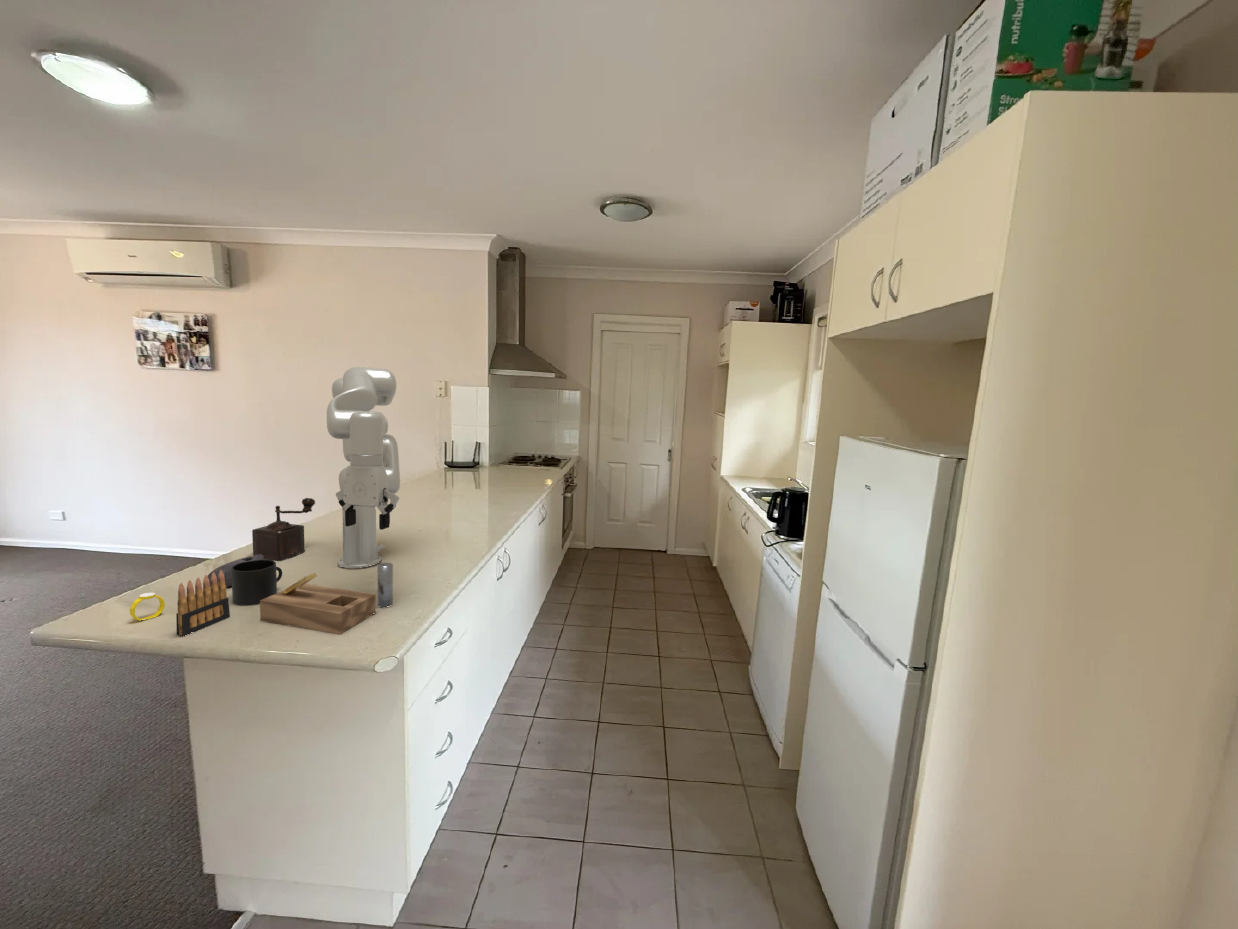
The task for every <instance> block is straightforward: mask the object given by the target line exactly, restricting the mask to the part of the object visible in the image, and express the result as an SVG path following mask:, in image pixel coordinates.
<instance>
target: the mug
mask: <svg viewBox="0 0 1238 929" xmlns="http://www.w3.org/2000/svg"><path fill="white" fill-rule="evenodd" d="M276 562H277V561H274V560H266V559H264V560H252V561H246V562H242V563H239V564H236V565H234V566H233V567H232V568H231V575H232V586H231V593H232V595H231V596H232V602H233V604H235V605H240V606H253V605H258V604H259V605H260V600H262V599H265V598H267V597H269V596H272V595H274V594H277V593H278V586H277V585H278V582H279V581H280V580H281V579H282V576H283V570H282V569H281V567H279V566H277V563H276ZM277 571H278V575H277Z"/></svg>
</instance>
